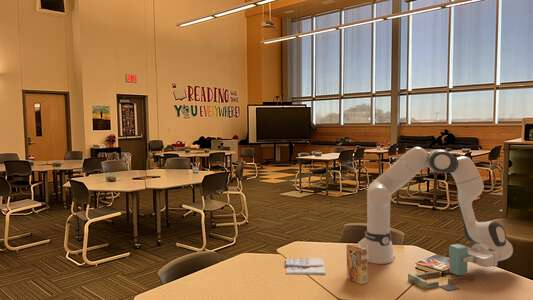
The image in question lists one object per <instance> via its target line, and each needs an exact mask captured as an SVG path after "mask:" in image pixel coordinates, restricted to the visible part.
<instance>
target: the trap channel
mask: <svg viewBox="0 0 533 300" xmlns="http://www.w3.org/2000/svg"><path fill="white" fill-rule="evenodd" d="M448 269H449V272H450V268H448ZM451 274H452V275H455V274H454V273H451V272H450V274H449V275H451ZM440 276H441V274H440V271H433V272H430V271H427V272H422V273H416V274H413V273H411V272H409V273H407V281H408V282H411V283H412V284H414V285H416V286H418V287H420V288H422V289H424V290H427V289H433V288H437V287H439V288H440V289H443V290H445V291H447V292H450V291H456V290H460V288H459V287H458V286H456V285H455V284H459V283H465V282H469V281H474V280H475V276H474V274H465V275H460V276H456V277H450V278H447V284H442V285H440V282H439V281H438V280H434V281H427V280H425V279H428V278H436V277H440Z"/></svg>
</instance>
